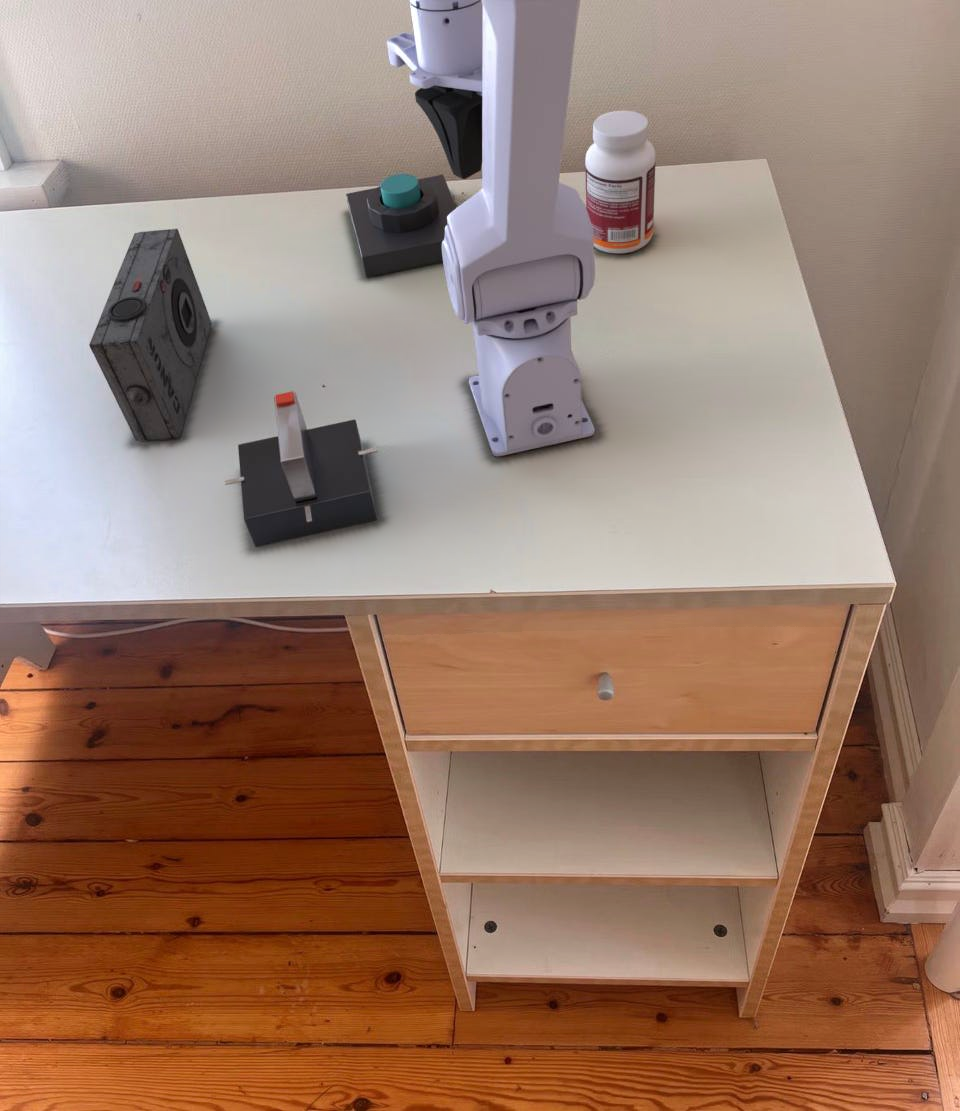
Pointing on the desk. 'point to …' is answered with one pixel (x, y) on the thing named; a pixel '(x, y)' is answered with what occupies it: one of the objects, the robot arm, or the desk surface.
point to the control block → (401, 227)
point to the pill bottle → (620, 182)
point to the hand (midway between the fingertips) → (467, 172)
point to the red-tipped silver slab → (294, 446)
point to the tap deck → (336, 484)
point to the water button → (400, 191)
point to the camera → (153, 335)
